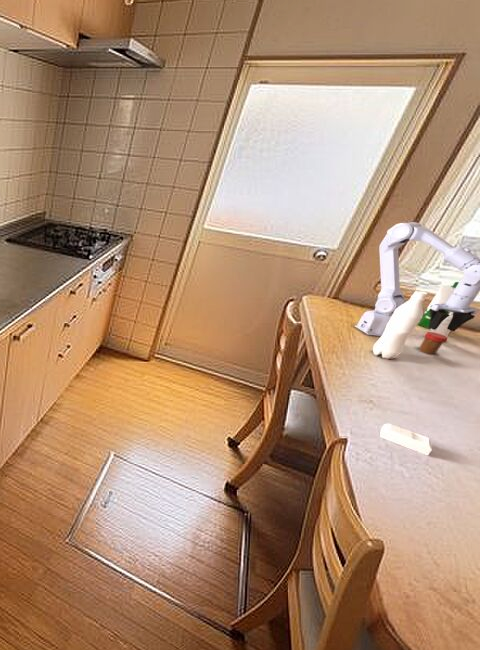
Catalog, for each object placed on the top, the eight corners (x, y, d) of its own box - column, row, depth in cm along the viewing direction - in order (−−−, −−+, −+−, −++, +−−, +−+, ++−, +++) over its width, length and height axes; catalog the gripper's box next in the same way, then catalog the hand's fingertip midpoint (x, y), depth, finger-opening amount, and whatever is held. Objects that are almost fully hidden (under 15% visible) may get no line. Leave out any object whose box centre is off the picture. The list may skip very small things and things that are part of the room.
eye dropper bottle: (445, 343, 168) (463, 316, 163) (426, 338, 171) (443, 311, 165) (442, 339, 171) (460, 312, 166) (424, 335, 174) (441, 308, 169)
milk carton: (449, 330, 181) (478, 286, 172) (440, 332, 177) (469, 288, 168) (423, 321, 188) (450, 279, 179) (414, 324, 184) (440, 281, 175)
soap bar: (381, 429, 113) (386, 421, 112) (426, 446, 107) (432, 438, 106) (380, 437, 109) (385, 429, 108) (427, 455, 104) (433, 447, 103)
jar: (425, 353, 158) (435, 338, 155) (414, 347, 162) (424, 333, 159) (439, 355, 158) (449, 340, 155) (427, 348, 162) (437, 334, 159)
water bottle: (400, 362, 150) (441, 297, 138) (378, 358, 151) (417, 294, 140) (387, 352, 156) (425, 289, 145) (365, 349, 157) (402, 287, 146)
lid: (449, 343, 155) (452, 339, 154) (433, 341, 155) (435, 337, 154) (436, 336, 160) (439, 332, 159) (420, 334, 160) (423, 331, 159)
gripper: (453, 297, 146) (431, 332, 152) (496, 301, 145) (471, 335, 152) (434, 290, 152) (413, 323, 158) (475, 293, 152) (453, 327, 158)
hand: (441, 329), depth 155 cm, fingers open, 6 cm apart
